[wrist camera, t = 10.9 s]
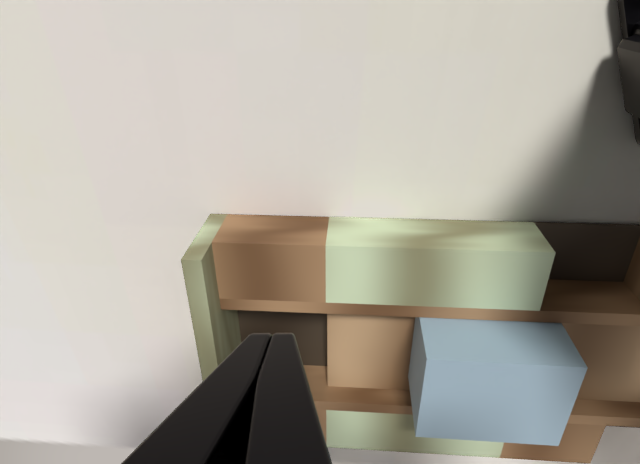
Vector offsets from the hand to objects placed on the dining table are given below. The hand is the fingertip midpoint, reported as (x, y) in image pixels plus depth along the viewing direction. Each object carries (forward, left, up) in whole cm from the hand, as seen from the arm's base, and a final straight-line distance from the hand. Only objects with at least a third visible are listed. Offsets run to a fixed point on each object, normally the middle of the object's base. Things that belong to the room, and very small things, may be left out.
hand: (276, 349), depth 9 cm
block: (-3, +11, -10) cm, 16 cm away
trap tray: (-5, +12, -12) cm, 18 cm away
